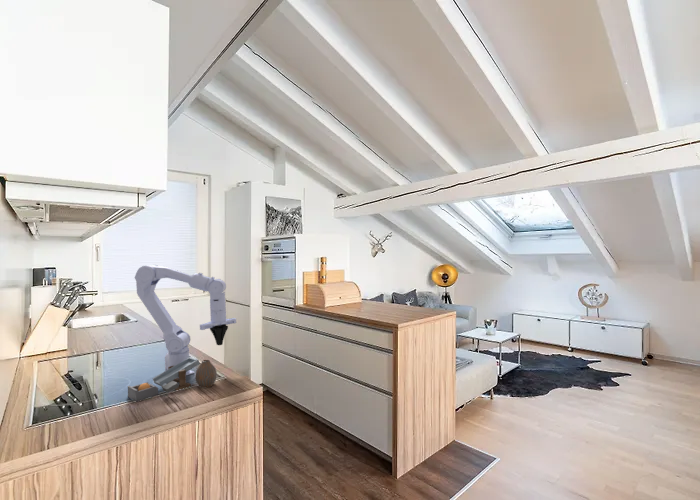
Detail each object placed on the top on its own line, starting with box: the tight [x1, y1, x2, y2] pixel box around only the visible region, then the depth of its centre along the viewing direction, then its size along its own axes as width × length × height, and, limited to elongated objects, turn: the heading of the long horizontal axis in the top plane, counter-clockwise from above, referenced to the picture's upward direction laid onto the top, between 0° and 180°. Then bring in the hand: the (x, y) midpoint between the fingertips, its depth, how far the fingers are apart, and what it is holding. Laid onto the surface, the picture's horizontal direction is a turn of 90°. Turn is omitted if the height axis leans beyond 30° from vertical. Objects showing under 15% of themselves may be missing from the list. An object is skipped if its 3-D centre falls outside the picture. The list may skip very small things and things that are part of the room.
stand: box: [167, 366, 192, 391], centre depth 126 cm, size 10×5×6 cm, turn 51°
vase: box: [195, 359, 218, 388], centre depth 125 cm, size 7×7×9 cm
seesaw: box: [152, 356, 201, 394], centre depth 123 cm, size 14×15×2 cm
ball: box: [138, 382, 150, 391], centre depth 118 cm, size 4×4×4 cm
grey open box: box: [127, 381, 159, 403], centre depth 117 cm, size 7×7×4 cm
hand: (219, 344), depth 140 cm, fingers closed
